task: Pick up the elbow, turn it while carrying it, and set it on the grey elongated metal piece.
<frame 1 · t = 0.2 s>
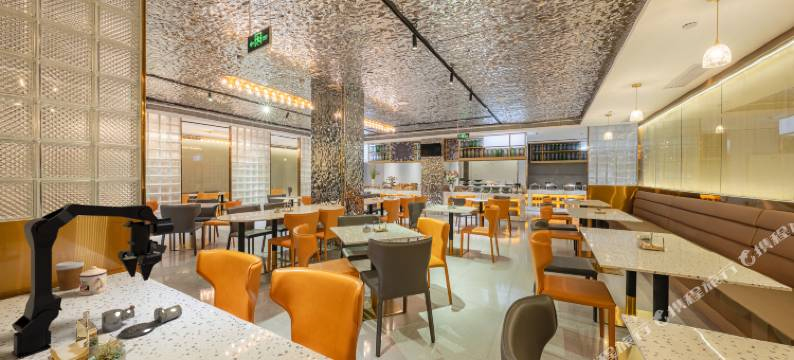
hand: (139, 278, 114), 14 cm above the table, fingers open, 9 cm apart
disposable coffee cup: (69, 288, 141), on the table
grey elongated metal piece: (137, 331, 102), on the table
elbow: (112, 329, 104), on the table
teacup with lid: (95, 292, 137), on the table
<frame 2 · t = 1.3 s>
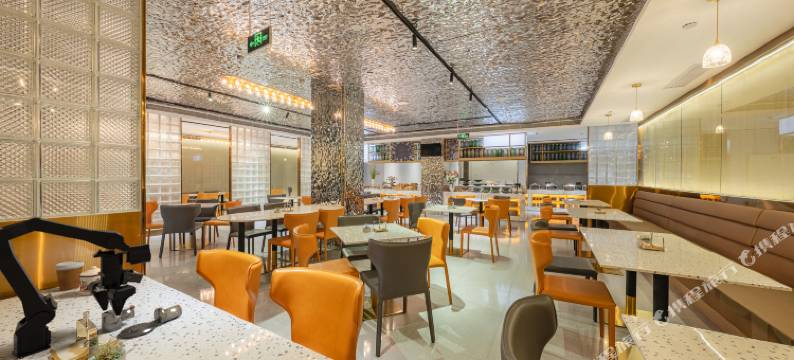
hand: (111, 312, 104), 6 cm above the table, fingers open, 9 cm apart
nothing on the table moved.
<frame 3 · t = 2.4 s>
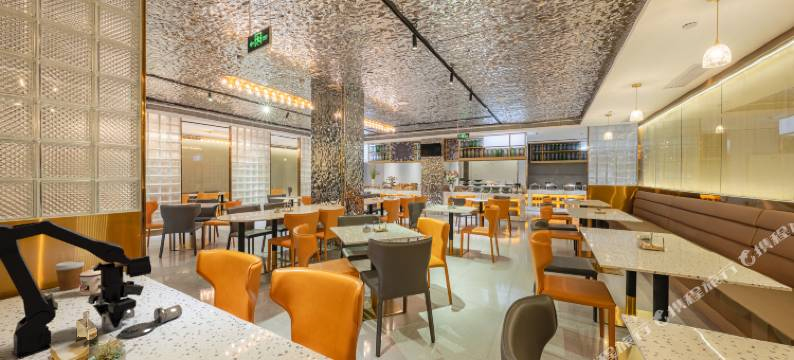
hand: (112, 325, 104), 1 cm above the table, fingers closed on elbow, 5 cm apart
elbow: (112, 329, 104), on the table, touching gripper
everything else where it was.
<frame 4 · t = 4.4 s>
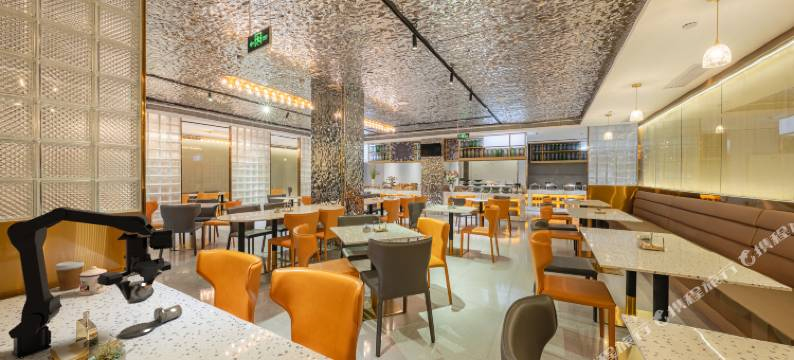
hand: (137, 297, 103), 12 cm above the table, fingers closed on elbow, 5 cm apart
elbow: (137, 300, 103), point 10 cm above the table, touching gripper
everything else where it was.
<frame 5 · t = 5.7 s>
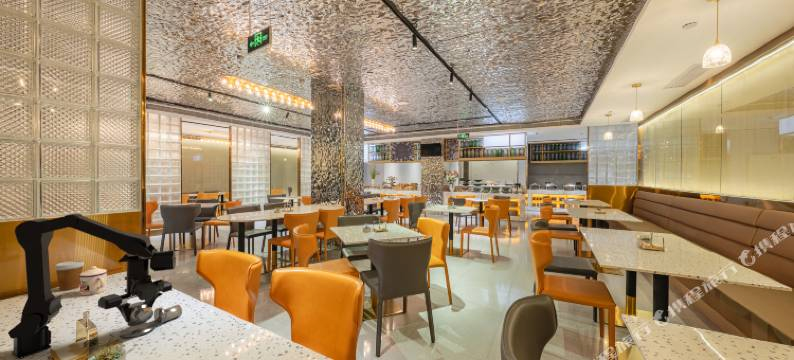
hand: (137, 318, 102), 4 cm above the table, fingers closed on elbow, 5 cm apart
elbow: (137, 322, 102), point 3 cm above the table, touching gripper
everything else where it was.
when the fingers open (2 cm above the table, at t = 6.5 s): elbow stays where it is, resting on grey elongated metal piece.
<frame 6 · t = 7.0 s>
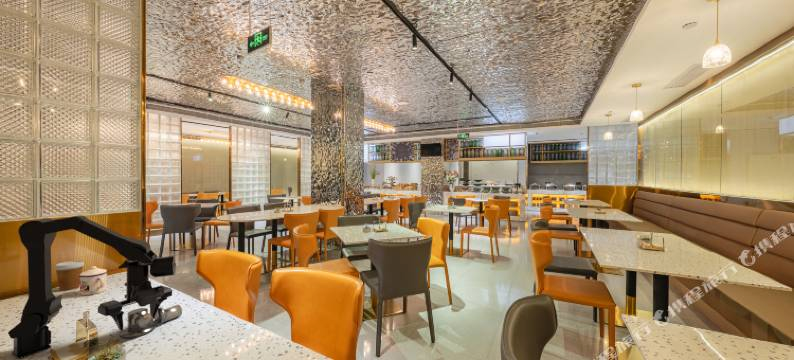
hand: (137, 324, 102), 2 cm above the table, fingers open, 8 cm apart
elbow: (137, 328, 102), point 1 cm above the table, touching grey elongated metal piece
everything else where it was.
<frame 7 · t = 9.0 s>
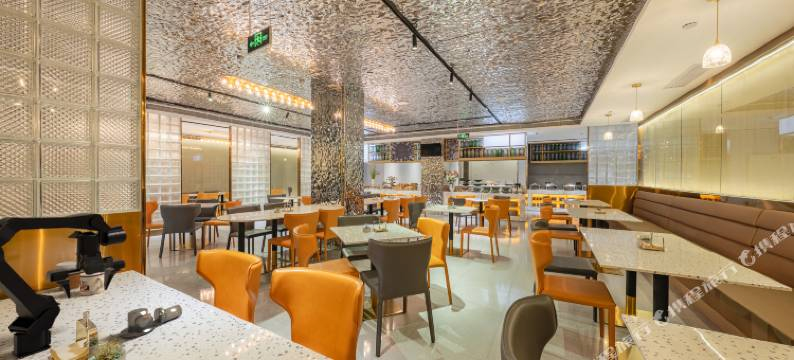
hand: (88, 294, 104), 12 cm above the table, fingers open, 9 cm apart
nothing on the table moved.
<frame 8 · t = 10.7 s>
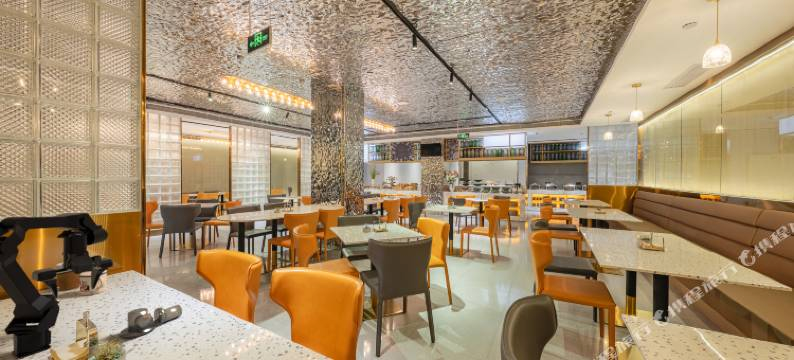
hand: (75, 293, 105), 12 cm above the table, fingers open, 9 cm apart
nothing on the table moved.
at the end: elbow 0.0 cm off-centre on the grey elongated metal piece, point 1.0 cm above the grey elongated metal piece's base; elbow tilted 0°; the gripper is holding nothing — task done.
